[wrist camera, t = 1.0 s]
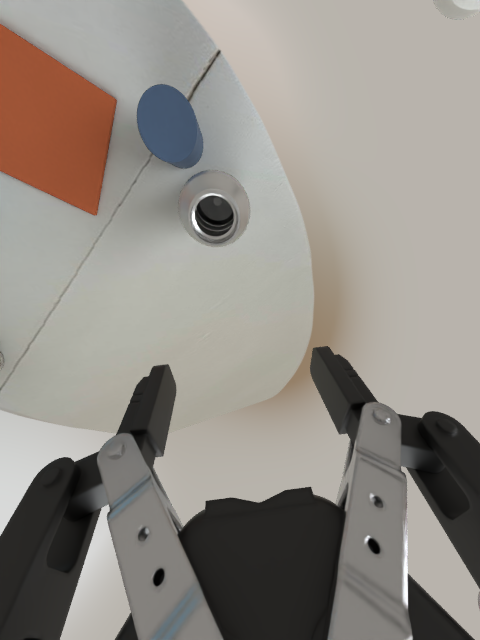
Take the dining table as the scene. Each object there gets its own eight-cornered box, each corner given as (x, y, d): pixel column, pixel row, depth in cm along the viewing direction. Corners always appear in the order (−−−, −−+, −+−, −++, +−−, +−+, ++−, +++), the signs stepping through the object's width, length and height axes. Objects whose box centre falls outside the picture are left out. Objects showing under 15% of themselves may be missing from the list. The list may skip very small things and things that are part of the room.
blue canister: (167, 101, 26) (146, 66, 18) (210, 131, 27) (206, 110, 20) (154, 152, 28) (130, 141, 21) (193, 177, 30) (185, 174, 22)
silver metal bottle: (237, 226, 34) (255, 267, 17) (194, 222, 33) (169, 261, 16) (241, 178, 30) (269, 170, 14) (193, 172, 30) (160, 156, 13)
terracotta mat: (-9, 18, 21) (-14, 14, 21) (117, 100, 25) (115, 98, 25) (-4, 167, 28) (-8, 167, 27) (96, 215, 31) (94, 215, 31)
